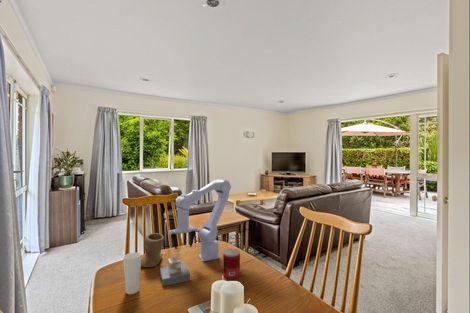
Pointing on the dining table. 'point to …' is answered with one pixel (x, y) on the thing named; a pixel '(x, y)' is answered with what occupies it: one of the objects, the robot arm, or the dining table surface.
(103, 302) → the dining table surface
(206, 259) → the robot arm
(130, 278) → the drinking glass
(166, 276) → the base
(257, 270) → the dining table surface
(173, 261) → the cube
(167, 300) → the dining table surface
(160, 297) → the dining table surface
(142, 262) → the stone cup
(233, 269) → the canned food
